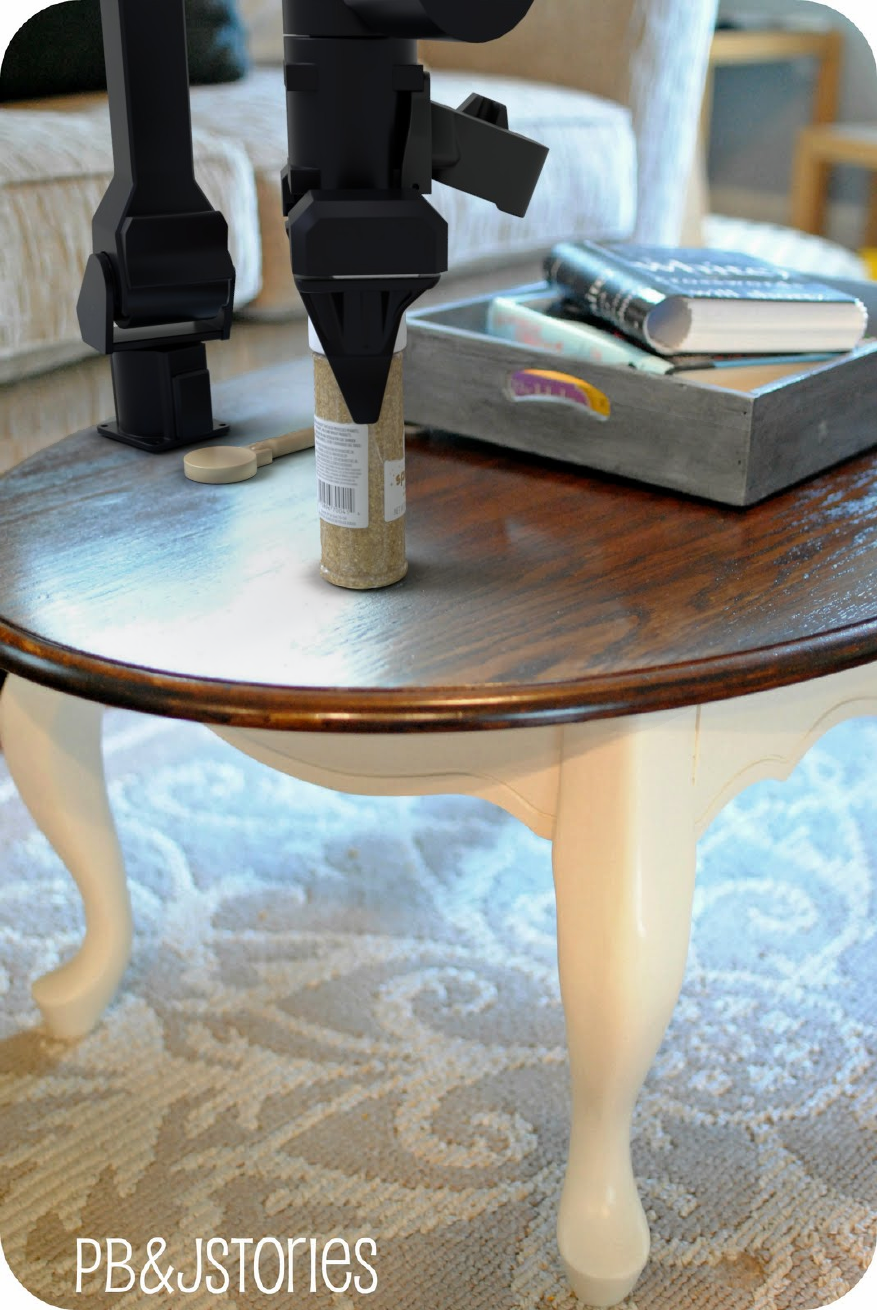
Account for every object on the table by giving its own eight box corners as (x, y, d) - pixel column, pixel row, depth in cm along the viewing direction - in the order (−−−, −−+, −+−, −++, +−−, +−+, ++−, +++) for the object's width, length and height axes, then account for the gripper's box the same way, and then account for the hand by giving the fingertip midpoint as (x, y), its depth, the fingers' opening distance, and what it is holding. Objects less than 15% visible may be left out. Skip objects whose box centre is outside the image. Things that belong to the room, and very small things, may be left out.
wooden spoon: (215, 489, 81) (214, 469, 80) (170, 472, 83) (168, 453, 83) (391, 435, 91) (390, 418, 90) (345, 422, 93) (344, 405, 93)
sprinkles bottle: (425, 579, 68) (425, 308, 62) (346, 599, 66) (338, 320, 60) (377, 551, 72) (373, 291, 66) (301, 569, 69) (289, 302, 64)
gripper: (584, 44, 51) (565, 449, 58) (500, 30, 67) (493, 345, 74) (283, 44, 49) (300, 458, 56) (273, 30, 66) (287, 351, 73)
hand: (358, 395), depth 65 cm, fingers open, 9 cm apart
